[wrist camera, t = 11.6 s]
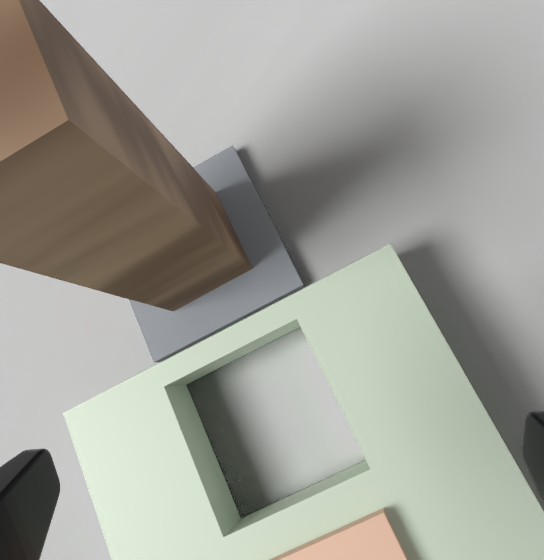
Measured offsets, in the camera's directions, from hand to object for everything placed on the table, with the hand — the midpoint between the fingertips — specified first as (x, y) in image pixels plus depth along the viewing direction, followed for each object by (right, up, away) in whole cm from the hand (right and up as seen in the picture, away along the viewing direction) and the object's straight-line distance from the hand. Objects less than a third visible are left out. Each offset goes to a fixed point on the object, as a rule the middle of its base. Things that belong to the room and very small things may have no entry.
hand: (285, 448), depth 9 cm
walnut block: (-4, +5, +14) cm, 16 cm away
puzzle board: (+1, -7, +12) cm, 13 cm away
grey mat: (-4, +4, +15) cm, 16 cm away
